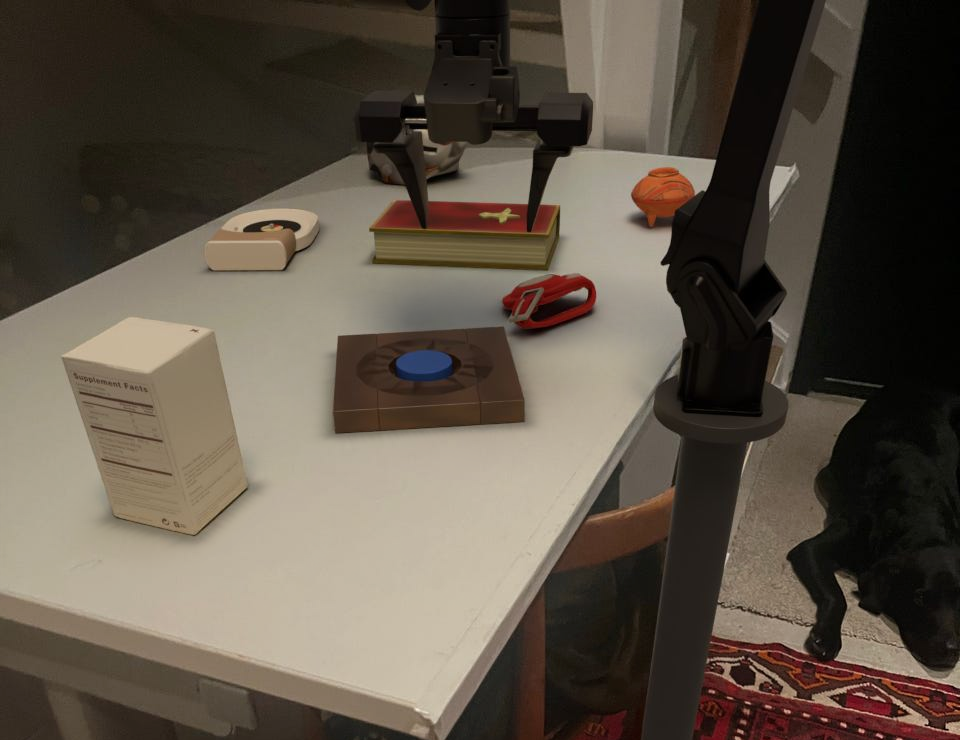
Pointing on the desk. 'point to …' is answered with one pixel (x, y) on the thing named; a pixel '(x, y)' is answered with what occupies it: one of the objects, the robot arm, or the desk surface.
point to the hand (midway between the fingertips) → (477, 229)
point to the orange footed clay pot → (662, 193)
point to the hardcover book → (467, 235)
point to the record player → (261, 239)
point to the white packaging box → (159, 422)
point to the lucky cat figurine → (435, 157)
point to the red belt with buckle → (547, 298)
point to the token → (424, 366)
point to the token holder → (409, 404)
